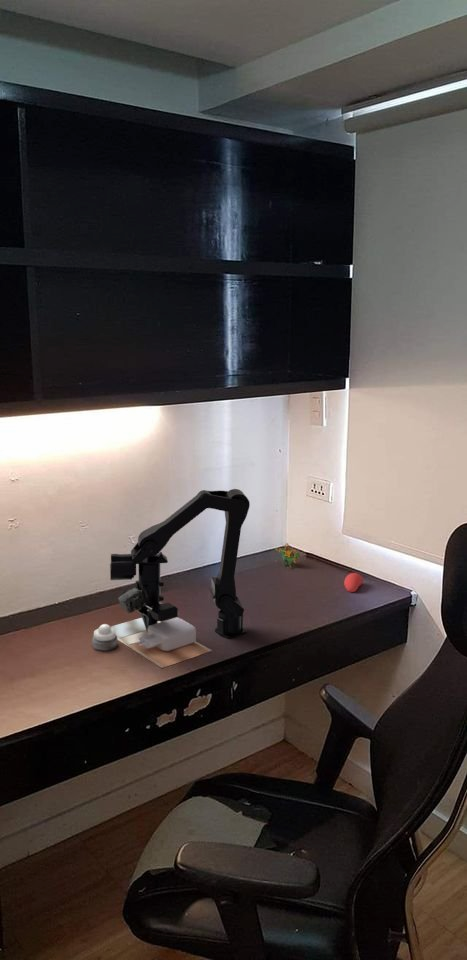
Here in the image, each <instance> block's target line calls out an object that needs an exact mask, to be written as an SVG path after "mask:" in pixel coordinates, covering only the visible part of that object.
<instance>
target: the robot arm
mask: <svg viewBox="0 0 467 960" xmlns="http://www.w3.org/2000/svg"><path fill="white" fill-rule="evenodd" d="M250 505H251V504H250V500H249V498H248V497H247V496H246V494H245V493H244V492H243V491H242V490H240V489H238V488H233V489H230V490H208V489H207V490H205V489H204V490H200V491H199V492H198V493H197V494H196V495H195V496H194V497H192V498H191V499H190V500H188V501H187V502H186V503H185V504H184V505H183V506H181V507H180V508H179V509H177V510H176V511H174V513H172V514H171V515H170V516H168V517H167V518H166V519H164V521H161V522H160V523H157V524H154V525H152V526H149V527H148V528H146V529H144V530H143V531H141V532H140V533H139V535H138V538H137V543H136V544H135V545H134V547H133V548H132V549H131V550H130V553H123V554H120V553H119V554H118V553H111V554H110V563H109V572H110V573H109V575H110V581H122V580H123V581H128V580H129V581H130V580H132V579H134V578H135V576H137V565H138V580H137V581H135V582H134V586H133V587H130V588H128V589H127V588H126V589H124V591H123V592H122V593H121V595H120V596H119V597H118V598H117V599H118V602H119V605H120V607H121V609H122V610H124V611H126V612H127V613H128V614H130V613H131V614H132V613H133V612H135V611H137V612H138V613H139V614H140V615H141V618H142V619H143V622H144V625H145V628H146V631H147V633H148V627H149V626H150V625H154V624H157V622H158V621H160V622H163V621H167V620H170V619H173V618H177V617H178V618H179V608H178V607H177V606H175V605H173V604H171V602H165V603H163V602H162V601H164V600H165V599H164V597H165V596H163V595H161V587H164V584H165V583H164V581H162V580H161V564H167V563H168V562H169V561H168V557H167V556H166V555H165V554H164V553H163V552H162V550H163V549H164V548H165V547H166V546H167V544H168V542H169V541H170V539H171V538H172V537H173V536H174V535H175V534H176V533H178V532H179V531H180V530H182V528H184V527H185V526H186V525H188V524H189V523H190V522H191V521H193V520H194V519H196V517H199V515H200V514H201V513H203V512H204V511H206V510H207V509H212V510H217V511H223V512H224V517H225V528H224V534H223V543H222V549H221V557H220V563H219V570H218V571H219V572H218V573H217V575H216V577H214V576H211V577H210V578H211V580H210V581H211V584H210V588H209V593H210V596H211V597H212V599H213V602H214V604H215V606H216V607H217V609H219V611H218V614H217V618H216V628H214V632H216V633H217V634H220V635H221V636H223V637H225V638H227V639H232V638H235V637H238V636H241V635H244V634H247V630H246V629H244V611H245V609H244V606H243V604H242V602H241V600H240V598H239V597H238V596H237V591H236V590H237V588H236V581H235V573H236V566H237V561H238V552H239V545H240V538H241V531H242V527H243V524H244V522H245V521H246V519H247V516H248V513H249V509H250Z"/></svg>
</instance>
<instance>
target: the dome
mask: <svg viewBox="0 0 467 960" xmlns="http://www.w3.org/2000/svg"><path fill="white" fill-rule="evenodd" d="M93 636H94V639H95V640H97V641H110V640H113V639H114V638H115V637H116V631H115V629H113V628H111V625H109V624H107V623H103V624H101V625H100V626H99V627H98V628H97V629H95V630H94V631H93Z"/></svg>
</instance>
